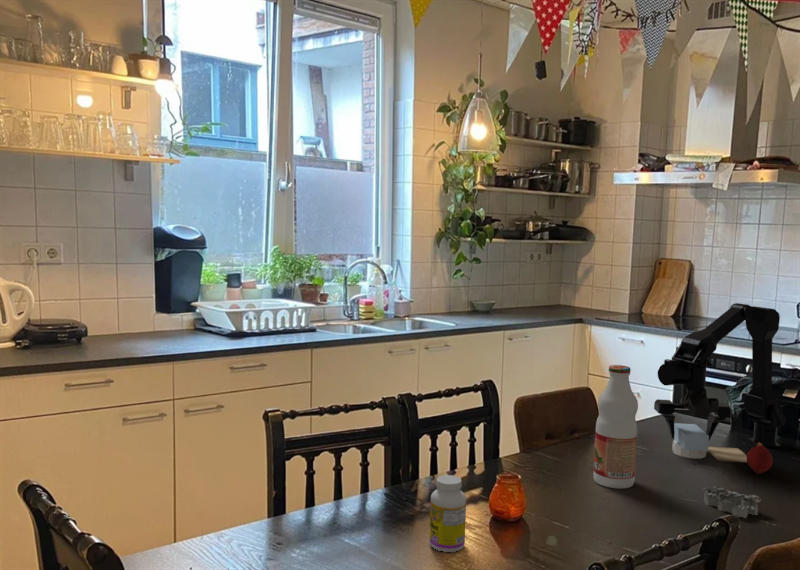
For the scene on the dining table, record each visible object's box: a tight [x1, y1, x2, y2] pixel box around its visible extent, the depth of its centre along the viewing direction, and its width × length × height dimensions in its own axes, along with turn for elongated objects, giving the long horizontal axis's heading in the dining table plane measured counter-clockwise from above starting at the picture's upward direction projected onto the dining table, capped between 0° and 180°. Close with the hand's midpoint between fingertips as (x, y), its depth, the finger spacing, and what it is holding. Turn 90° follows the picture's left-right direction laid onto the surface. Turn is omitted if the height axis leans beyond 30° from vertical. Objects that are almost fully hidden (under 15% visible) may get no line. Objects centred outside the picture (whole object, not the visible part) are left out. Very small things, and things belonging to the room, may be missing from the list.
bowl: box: [671, 439, 708, 460], centre depth 187 cm, size 8×8×3 cm
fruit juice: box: [593, 364, 639, 490], centre depth 163 cm, size 9×9×28 cm
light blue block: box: [673, 422, 710, 452], centre depth 187 cm, size 11×6×4 cm, turn 173°
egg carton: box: [701, 485, 763, 519], centre depth 150 cm, size 11×8×4 cm
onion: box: [746, 443, 774, 475], centre depth 172 cm, size 6×6×8 cm
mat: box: [707, 446, 747, 463], centre depth 187 cm, size 11×9×1 cm
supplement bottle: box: [428, 474, 467, 553], centre depth 128 cm, size 7×7×13 cm
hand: (690, 439), depth 187 cm, fingers open, 9 cm apart
